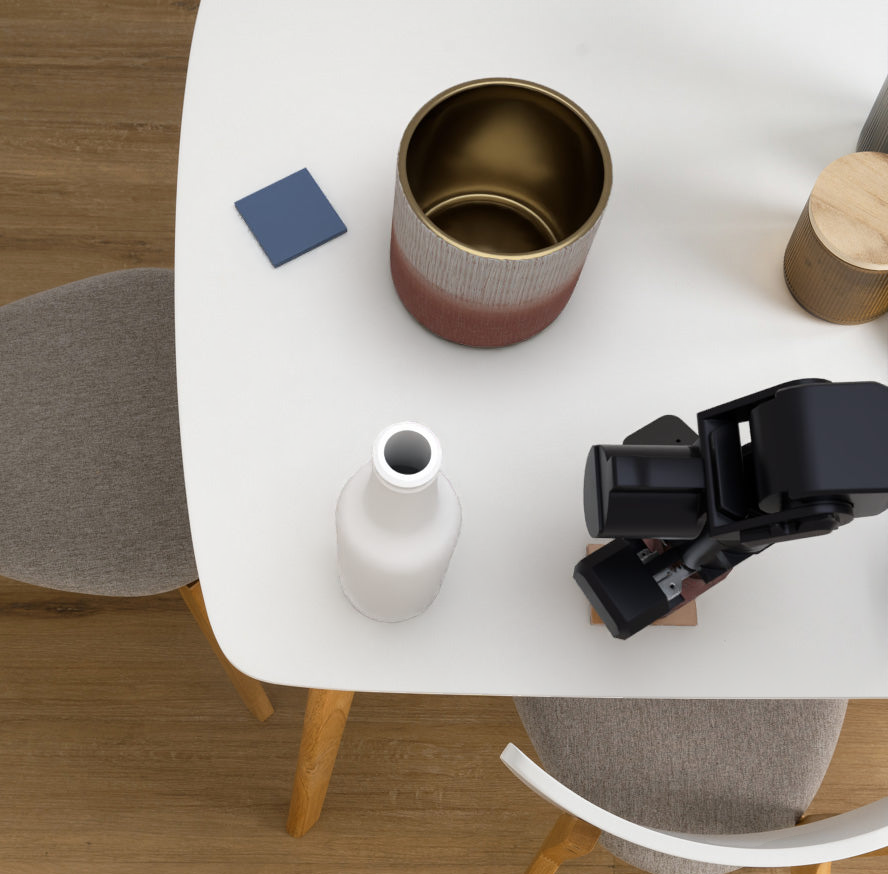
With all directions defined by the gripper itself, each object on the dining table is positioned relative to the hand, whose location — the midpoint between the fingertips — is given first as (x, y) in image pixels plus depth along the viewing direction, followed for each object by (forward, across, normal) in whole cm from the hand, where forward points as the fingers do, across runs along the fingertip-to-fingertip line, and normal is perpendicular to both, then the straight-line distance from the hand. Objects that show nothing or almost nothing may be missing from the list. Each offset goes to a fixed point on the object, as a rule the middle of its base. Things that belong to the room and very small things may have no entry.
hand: (667, 564), depth 76 cm
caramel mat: (+8, 0, 0) cm, 8 cm away
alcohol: (+8, +18, -12) cm, 23 cm away
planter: (+8, -5, -33) cm, 34 cm away
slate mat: (+7, +8, -47) cm, 48 cm away
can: (+7, 0, 0) cm, 7 cm away
